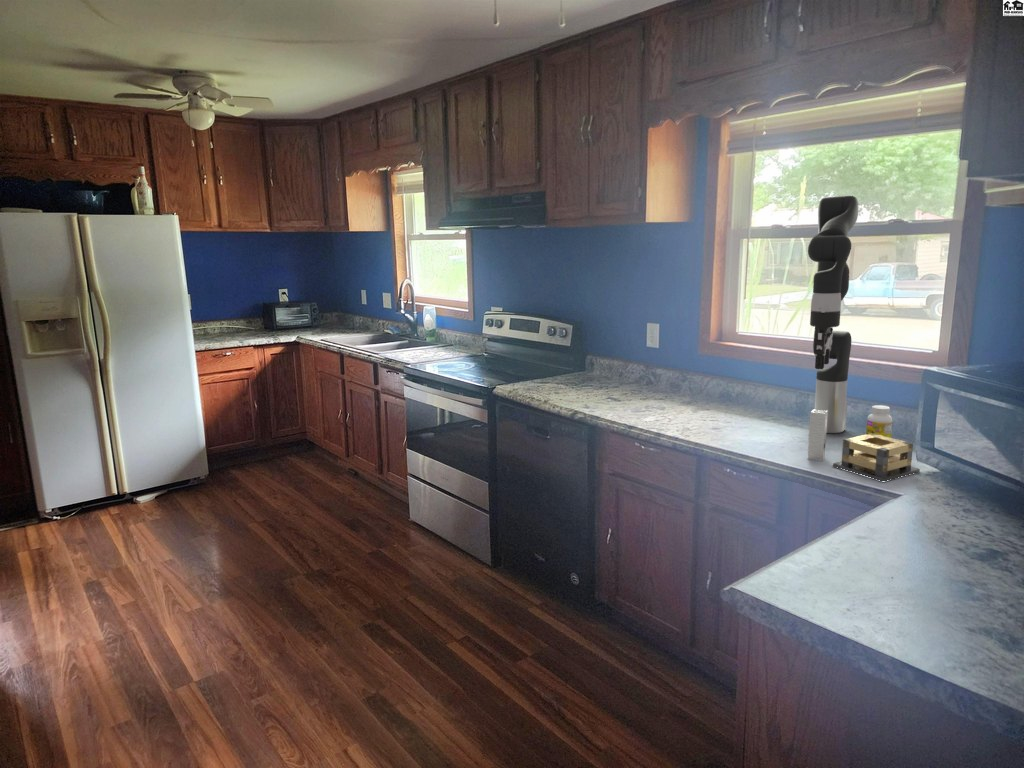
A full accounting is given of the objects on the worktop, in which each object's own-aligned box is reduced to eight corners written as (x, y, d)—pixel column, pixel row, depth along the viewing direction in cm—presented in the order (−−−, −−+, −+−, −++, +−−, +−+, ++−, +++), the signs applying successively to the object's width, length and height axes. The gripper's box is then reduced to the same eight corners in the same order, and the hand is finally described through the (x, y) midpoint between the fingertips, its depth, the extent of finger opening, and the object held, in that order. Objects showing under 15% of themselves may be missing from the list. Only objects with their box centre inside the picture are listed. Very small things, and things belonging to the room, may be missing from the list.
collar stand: (868, 457, 191) (870, 431, 189) (919, 472, 178) (922, 443, 176) (832, 466, 184) (834, 439, 183) (883, 482, 171) (885, 453, 170)
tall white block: (810, 455, 195) (812, 409, 192) (825, 457, 193) (828, 410, 190) (807, 459, 192) (810, 412, 189) (823, 461, 189) (826, 413, 187)
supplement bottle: (859, 446, 201) (862, 405, 199) (876, 443, 204) (879, 403, 201) (878, 452, 195) (882, 410, 193) (895, 449, 198) (898, 407, 195)
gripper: (815, 306, 191) (812, 361, 195) (806, 311, 180) (802, 369, 183) (844, 307, 187) (840, 363, 191) (836, 311, 176) (832, 371, 179)
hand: (821, 366), depth 187 cm, fingers open, 8 cm apart
